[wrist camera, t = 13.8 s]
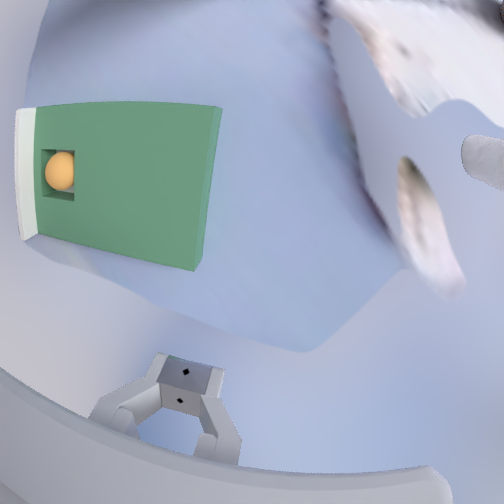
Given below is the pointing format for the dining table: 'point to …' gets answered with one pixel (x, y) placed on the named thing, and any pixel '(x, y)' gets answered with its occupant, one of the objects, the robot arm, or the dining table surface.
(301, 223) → the dining table surface
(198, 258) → the green
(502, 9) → the vase
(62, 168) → the ball
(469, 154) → the roll
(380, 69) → the dining table surface
